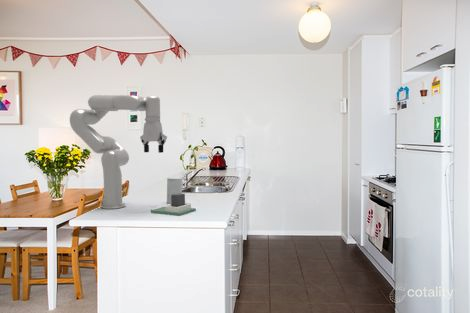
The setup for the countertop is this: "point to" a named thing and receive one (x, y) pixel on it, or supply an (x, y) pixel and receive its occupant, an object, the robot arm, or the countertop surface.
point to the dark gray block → (177, 200)
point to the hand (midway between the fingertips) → (153, 152)
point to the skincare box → (173, 187)
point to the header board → (174, 210)
